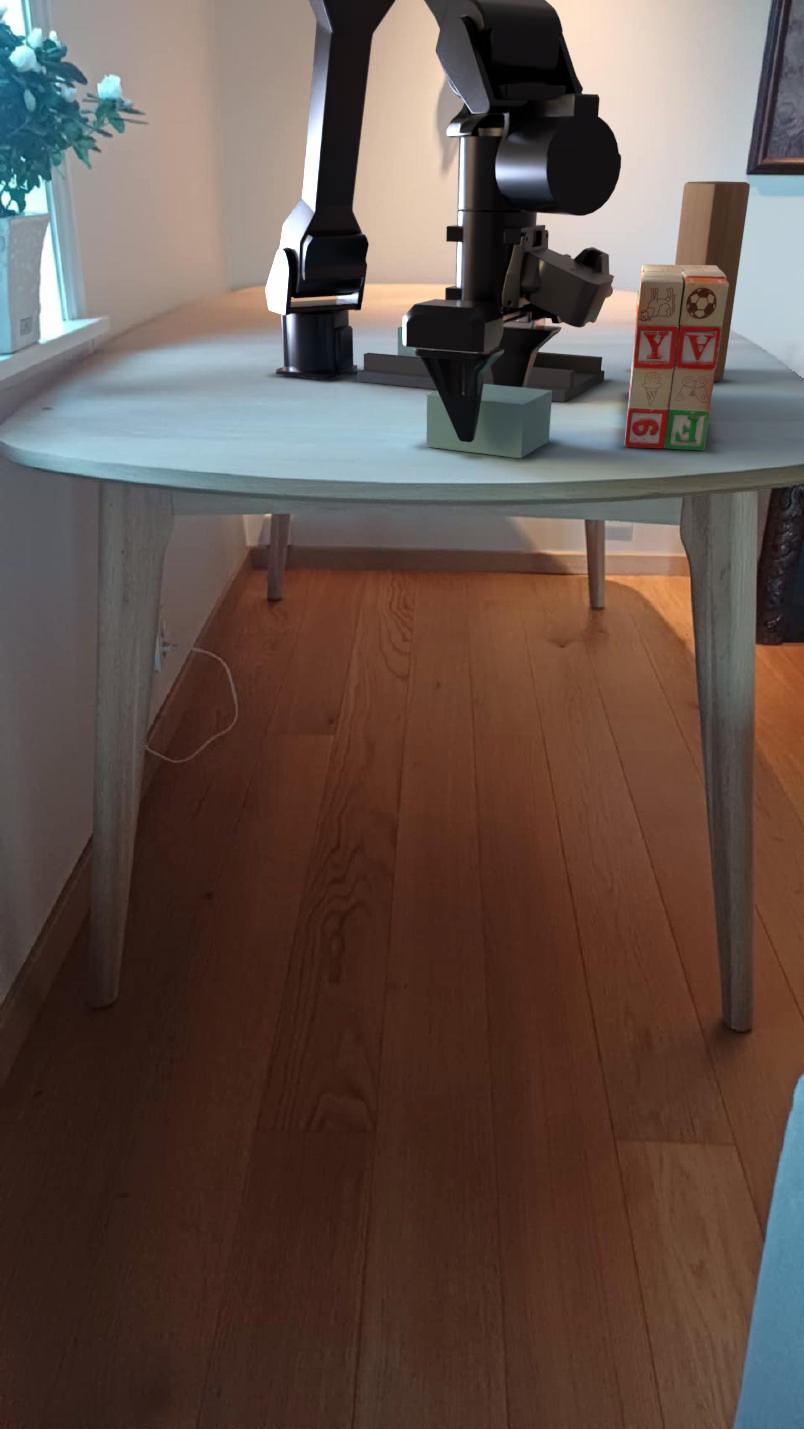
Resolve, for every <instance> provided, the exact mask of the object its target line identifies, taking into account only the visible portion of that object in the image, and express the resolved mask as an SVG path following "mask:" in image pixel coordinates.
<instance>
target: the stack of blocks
mask: <svg viewBox="0 0 804 1429" xmlns="http://www.w3.org/2000/svg"><path fill="white" fill-rule="evenodd" d="M639 280H640V281H639V290H638V291H637V296H636V307H635V308H636V309H635V316H634V337H633V347H632V356H631V363H630V364H631V366H630V380H629V392H628V403H627V413H626V421H625V431H624V432H625V434H624V443H623V444H624V447H625V448H637V449H641V448H642V449H659V450H661V449H666V450H683V451H705V448H706V442H707V436H708V435H707V434H708V429H709V423H710V418H711V402H712V395H713V390H714V384H715V383H714V375H715V369H716V368H717V362H718V355H719V348H720V342H721V333H722V324H723V318H724V312H725V306H726V300H727V293H728V287H729V283H728V282H727V280H726V276H725V274H724V273H723V272H722V271H721V270H719V268H718V267H717V266H716V265H675V264H651V263H649V264H648V263H647V264H646V263H643V264H642V265H641V269H640V279H639Z"/></svg>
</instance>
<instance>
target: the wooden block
mask: <svg viewBox="0 0 804 1429" xmlns="http://www.w3.org/2000/svg"><path fill="white" fill-rule="evenodd" d="M750 190H751V185H750V183H748V182H747V181H725V180H724V181H722V180H718V181H717V180H716V181H715V180H713V181H711V180H710V181H688V182H685V183H684V185H683V190H682V198H681V199H682V200H681V208H680V216H679V226H678V235H677V243H676V244H677V245H676V251H675V252H676V254H675V260H674V265H716V266H717V267H718V268H719V270H721V271H722V272H723V273H724V274H725V276H726V280H727V282H728V283H729V287H728V293H727V300H726V306H725V312H724V318H723V324H722V333H721V342H720V348H719V355H718V362H717V368H716V369H715V375H714V382H720V381H723V379H724V376H725V369H726V363H727V356H728V355H727V354H728V348H729V340H730V335H731V334H730V332H731V327H732V326H731V325H732V319H733V313H734V305H735V297H736V290H737V282H738V277H739V276H738V275H739V269H740V261H741V253H742V248H743V240H744V231H745V226H746V220H747V219H746V218H747V211H748V204H749V196H750Z"/></svg>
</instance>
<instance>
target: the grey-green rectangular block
mask: <svg viewBox="0 0 804 1429" xmlns="http://www.w3.org/2000/svg"><path fill="white" fill-rule="evenodd" d="M551 400H552V390H543V389H532V388H522V387H511V386H501V385H490V384H484V385H483V392H482V398H481V405H480V411H479V418H478V424H477V428H476V433H475V438H474V440H473V441H472V442H462V441H460V440H459V439H458V436H457V434H456V432H455V429H454V427H453V425H452V423H451V420H450V418H449V416H448V413H447V411H446V409H445V406H444V404H443V402H442V400H441V397H440V395H439V393H438V391H437V390H435V391H433V392H430V393H428V394H426V441H425V442H426V443H425V444H426V445H425V446H426V447H427V448H434V449H442V450H450V451H456V452H457V451H458V452H465V453H472V454H473V453H474V454H481V455H490V456H499V457H507V458H513V459H523V458H524V457H526V456H528V455H529V454H531V453H533V452H535V451H536V450H538V449H539V448H541V447H542V446H544V445H546V444H548V443H549V442H550V430H551V414H552V401H551Z"/></svg>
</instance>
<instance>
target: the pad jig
mask: <svg viewBox="0 0 804 1429" xmlns="http://www.w3.org/2000/svg"><path fill="white" fill-rule="evenodd" d="M414 348H415V347H406V346H404V345H403V325H402V326H399V327H397V354H389V353H377V352H376V353H375V352H365V353H363V369H361V370H357V382H358V383H369V384H379V385H389V386H390V385H391V386H399V387H408V388H409V387H410V388H417V389H419V388H420V389H429V390H437V389H436V387H435V385H434V383H433V381H432V379H431V377H430V375H429V373H428V371H427V369H426V367H425V365H424V363H423V361H422V359H421V357H418V356H416V355H415V352H414ZM602 365H603V356H594V355H585V354H584V355H582V354H571V353H556V352H545V351H538V353H537V355H536V358H535V361H534V364H533V366H532V369H531V372H530V376H529V379H528V382H527V385H526V388H532V389H543V390H552V400H551V402H558V403H565V402H567V401H569V400H570V399H573V398H574V397H576V396H578V395H580V394H582V393H584V392H586V391H587V390H589V389H591V388H593V387H594V386H597V385H598V384H601V383H602V382H604V381H605V375H606V374H605V373H606V372H605V371H606V370H602ZM484 384H490V385H494V384H493V380H492V375H491V371H490V367H489V368H488V369H487V371H486V373H485V379H484Z"/></svg>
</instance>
